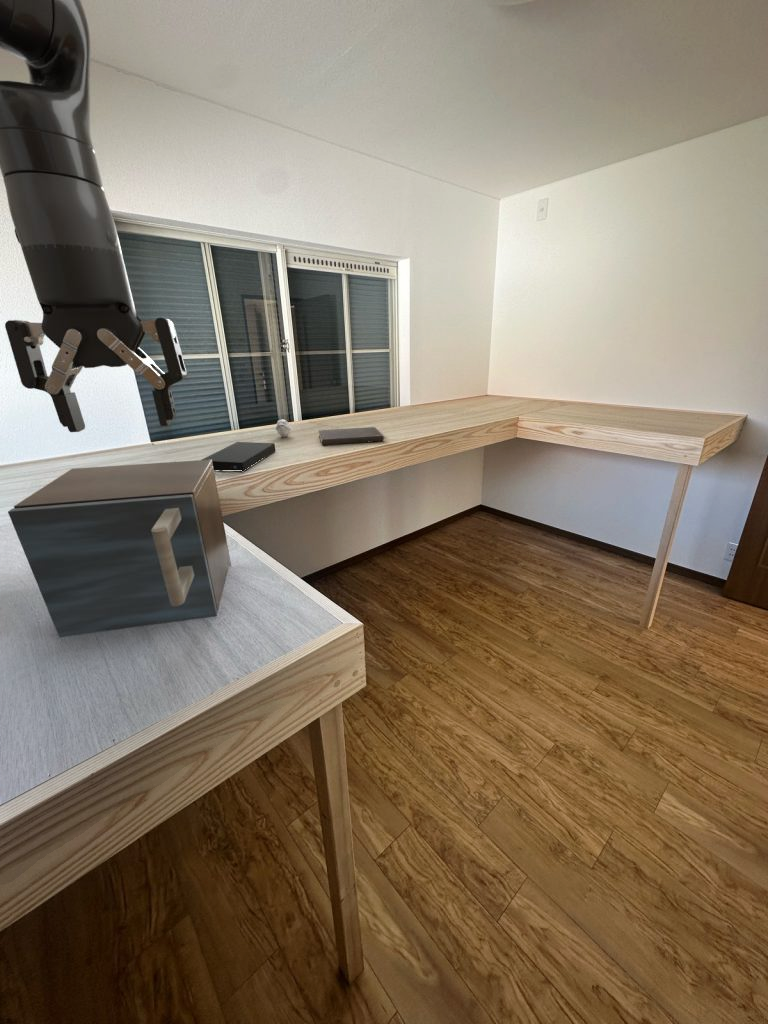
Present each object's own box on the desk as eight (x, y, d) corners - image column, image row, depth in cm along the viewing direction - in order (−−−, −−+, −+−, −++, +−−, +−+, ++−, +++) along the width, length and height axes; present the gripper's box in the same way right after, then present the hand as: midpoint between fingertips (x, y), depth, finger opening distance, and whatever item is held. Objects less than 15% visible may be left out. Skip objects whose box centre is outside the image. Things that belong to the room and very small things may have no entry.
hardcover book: (318, 435, 166) (318, 430, 165) (375, 432, 170) (375, 426, 169) (322, 445, 151) (321, 439, 151) (383, 441, 156) (383, 435, 155)
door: (210, 657, 54) (178, 518, 46) (34, 683, 50) (-34, 538, 42) (219, 619, 61) (193, 493, 53) (65, 640, 57) (12, 508, 49)
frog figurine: (274, 438, 162) (272, 421, 159) (279, 434, 168) (277, 417, 166) (289, 438, 162) (288, 421, 159) (294, 434, 168) (292, 417, 165)
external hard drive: (275, 451, 145) (274, 443, 144) (243, 472, 124) (242, 462, 123) (237, 450, 147) (236, 441, 146) (200, 470, 126) (198, 460, 125)
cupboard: (219, 619, 61) (193, 492, 53) (66, 639, 57) (13, 506, 49) (231, 567, 74) (212, 459, 66) (108, 581, 70) (71, 468, 62)
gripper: (168, 256, 42) (200, 417, 49) (6, 254, 39) (63, 425, 46) (147, 241, 35) (188, 430, 42) (-50, 237, 32) (26, 441, 39)
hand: (122, 427), depth 44 cm, fingers open, 8 cm apart
